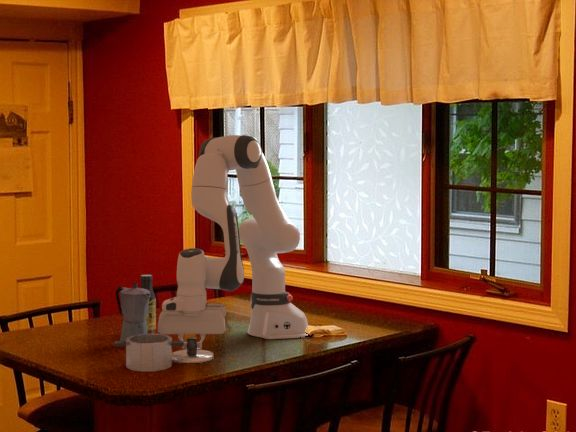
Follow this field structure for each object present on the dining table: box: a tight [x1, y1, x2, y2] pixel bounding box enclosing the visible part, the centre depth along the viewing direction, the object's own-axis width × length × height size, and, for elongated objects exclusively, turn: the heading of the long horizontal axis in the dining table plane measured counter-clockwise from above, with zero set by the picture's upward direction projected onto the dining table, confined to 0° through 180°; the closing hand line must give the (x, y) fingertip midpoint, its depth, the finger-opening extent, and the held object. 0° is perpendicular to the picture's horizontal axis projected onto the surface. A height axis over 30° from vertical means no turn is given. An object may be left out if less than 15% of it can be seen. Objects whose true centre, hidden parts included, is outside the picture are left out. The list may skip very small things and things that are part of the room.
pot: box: [113, 333, 185, 372], centre depth 276 cm, size 20×13×8 cm, turn 93°
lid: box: [172, 336, 215, 365], centre depth 284 cm, size 13×13×6 cm
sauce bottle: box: [139, 274, 157, 334], centre depth 316 cm, size 6×6×20 cm
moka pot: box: [115, 282, 151, 341], centre depth 301 cm, size 10×15×20 cm, turn 58°
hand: (191, 348), depth 284 cm, fingers closed on lid, 3 cm apart
